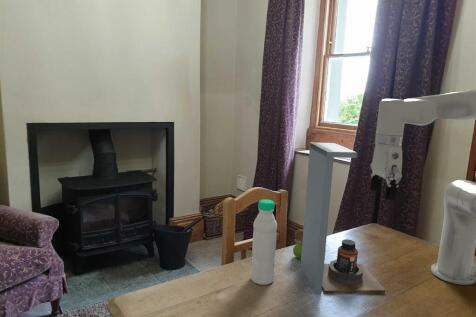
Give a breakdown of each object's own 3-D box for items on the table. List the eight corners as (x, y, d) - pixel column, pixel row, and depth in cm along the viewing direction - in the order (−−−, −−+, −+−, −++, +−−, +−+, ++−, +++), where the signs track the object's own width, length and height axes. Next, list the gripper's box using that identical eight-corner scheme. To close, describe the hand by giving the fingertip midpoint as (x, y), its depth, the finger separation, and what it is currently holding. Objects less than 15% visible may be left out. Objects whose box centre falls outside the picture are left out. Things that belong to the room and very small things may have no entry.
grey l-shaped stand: (323, 265, 118) (334, 143, 110) (342, 294, 101) (356, 152, 93) (300, 265, 117) (309, 142, 109) (315, 294, 100) (327, 151, 93)
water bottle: (258, 271, 112) (262, 196, 108) (277, 278, 108) (283, 200, 104) (246, 280, 107) (249, 201, 102) (266, 288, 103) (270, 206, 98)
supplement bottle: (356, 281, 106) (360, 246, 104) (336, 279, 107) (339, 244, 105) (354, 272, 112) (357, 239, 110) (334, 269, 113) (337, 236, 111)
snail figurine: (310, 263, 119) (312, 229, 117) (291, 259, 121) (293, 226, 119) (312, 256, 124) (314, 224, 122) (293, 253, 126) (296, 221, 124)
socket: (361, 266, 118) (362, 255, 117) (384, 293, 103) (386, 280, 102) (309, 266, 117) (310, 255, 116) (324, 293, 101) (326, 281, 100)
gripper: (416, 144, 98) (409, 203, 101) (386, 137, 115) (380, 187, 118) (391, 144, 98) (384, 203, 101) (364, 136, 115) (358, 187, 118)
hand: (382, 194), depth 110 cm, fingers open, 9 cm apart
